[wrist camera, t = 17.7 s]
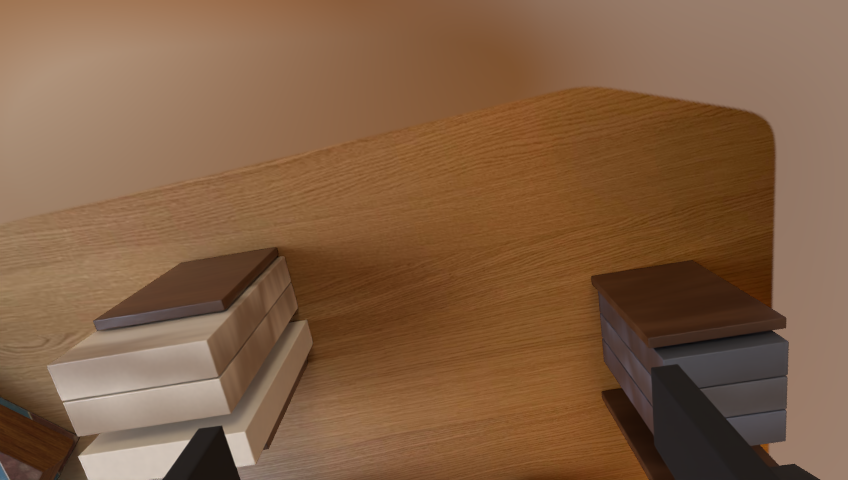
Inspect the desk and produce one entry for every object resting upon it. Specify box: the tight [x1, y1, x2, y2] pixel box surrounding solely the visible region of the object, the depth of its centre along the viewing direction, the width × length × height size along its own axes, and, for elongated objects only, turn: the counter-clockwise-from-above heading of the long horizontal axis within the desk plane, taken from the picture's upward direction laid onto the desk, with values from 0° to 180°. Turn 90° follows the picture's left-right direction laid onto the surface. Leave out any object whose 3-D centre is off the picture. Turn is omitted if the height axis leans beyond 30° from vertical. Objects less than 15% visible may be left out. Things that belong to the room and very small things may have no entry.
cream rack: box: [47, 247, 308, 450], centre depth 38 cm, size 12×10×16 cm
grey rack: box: [591, 260, 789, 480], centre depth 39 cm, size 13×9×13 cm
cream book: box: [78, 320, 313, 480], centre depth 39 cm, size 2×11×16 cm, turn 100°
